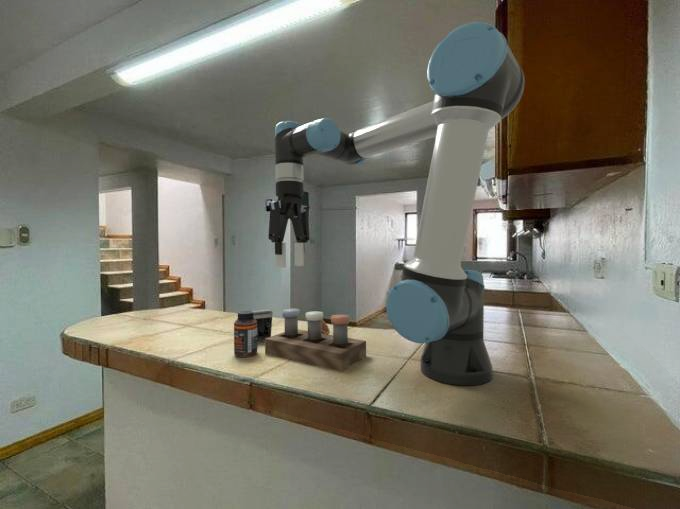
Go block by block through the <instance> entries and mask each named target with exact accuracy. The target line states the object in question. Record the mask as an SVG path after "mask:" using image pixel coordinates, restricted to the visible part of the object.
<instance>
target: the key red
mask: <svg viewBox="0 0 680 509" xmlns="http://www.w3.org/2000/svg"><path fill="white" fill-rule="evenodd" d="M350 317H351V316H350V315H348V314H333V315H331V316H330V323H331V324H332V330H333V331H332V332H333V333H332V335H333V343H334V344H338V345H342V344H347V343H348V338H349V337H348V334H349V332H348V327H349V326H348V324H350Z"/></svg>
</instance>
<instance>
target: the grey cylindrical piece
mask: <svg viewBox="0 0 680 509" xmlns="http://www.w3.org/2000/svg"><path fill="white" fill-rule="evenodd" d="M282 317H283V318H284V332H285V335H296V334H298V330H299V321H298V320H299V319H298V318H299V317H300V309H299V308H286V309H285V308H284V309H282Z"/></svg>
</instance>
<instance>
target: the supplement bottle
mask: <svg viewBox="0 0 680 509" xmlns="http://www.w3.org/2000/svg"><path fill="white" fill-rule="evenodd" d="M253 311H254V310H240V311H238V312H237V319H236V320H235V321H234V322H233V351H234V354H233V355H235V356H236V357H238V358H249V357H253V356H255V355H256V354H257V353H258V341H257V321H256V320H255V319H254V318H253V316H254V315H253Z"/></svg>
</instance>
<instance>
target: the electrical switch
mask: <svg viewBox="0 0 680 509" xmlns="http://www.w3.org/2000/svg"><path fill="white" fill-rule="evenodd" d="M252 311H253V315H254V316H253V318H254V319H255V320H256V321H257V342H262V341H265V338H268V337H271V336H272V325H273V311H272V310H271V309H262V310H260V309H259V310H252Z"/></svg>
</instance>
